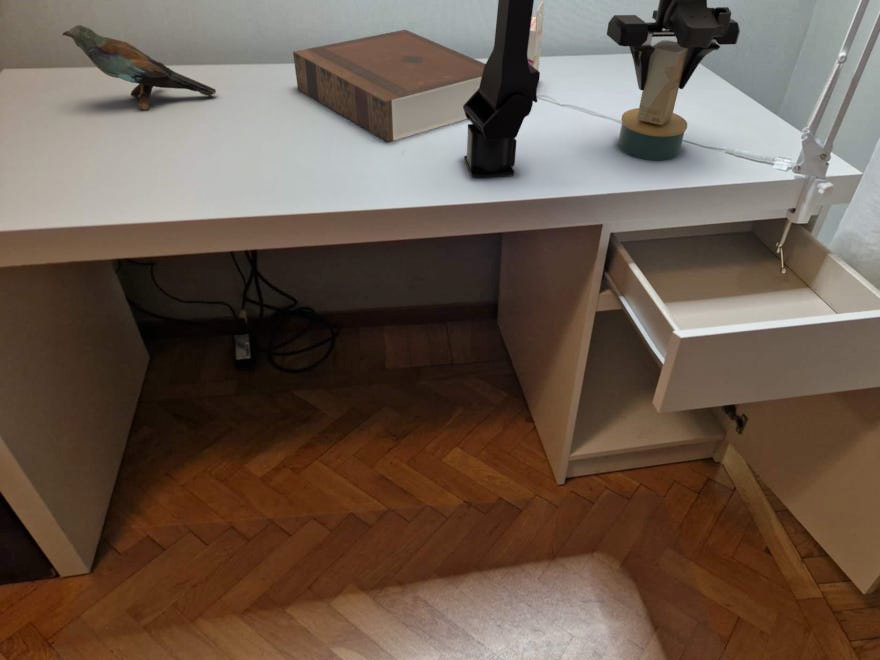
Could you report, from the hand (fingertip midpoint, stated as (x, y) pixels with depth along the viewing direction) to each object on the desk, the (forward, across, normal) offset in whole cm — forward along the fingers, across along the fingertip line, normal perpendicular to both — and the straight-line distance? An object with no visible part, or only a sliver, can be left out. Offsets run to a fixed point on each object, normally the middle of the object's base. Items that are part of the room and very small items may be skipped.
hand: (660, 88), depth 107 cm
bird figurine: (+10, -80, +29) cm, 86 cm away
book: (+10, -38, +25) cm, 46 cm away
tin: (+10, 0, 0) cm, 10 cm away
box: (+5, 0, 0) cm, 5 cm away
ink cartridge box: (+10, -14, +28) cm, 33 cm away
